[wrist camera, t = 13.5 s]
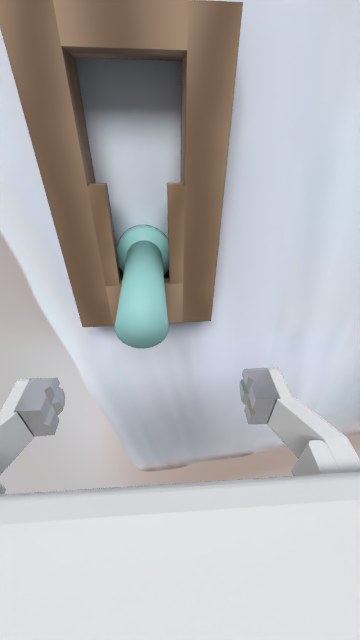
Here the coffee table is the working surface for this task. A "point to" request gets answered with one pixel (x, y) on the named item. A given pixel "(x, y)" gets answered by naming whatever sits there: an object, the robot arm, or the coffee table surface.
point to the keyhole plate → (73, 147)
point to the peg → (142, 287)
